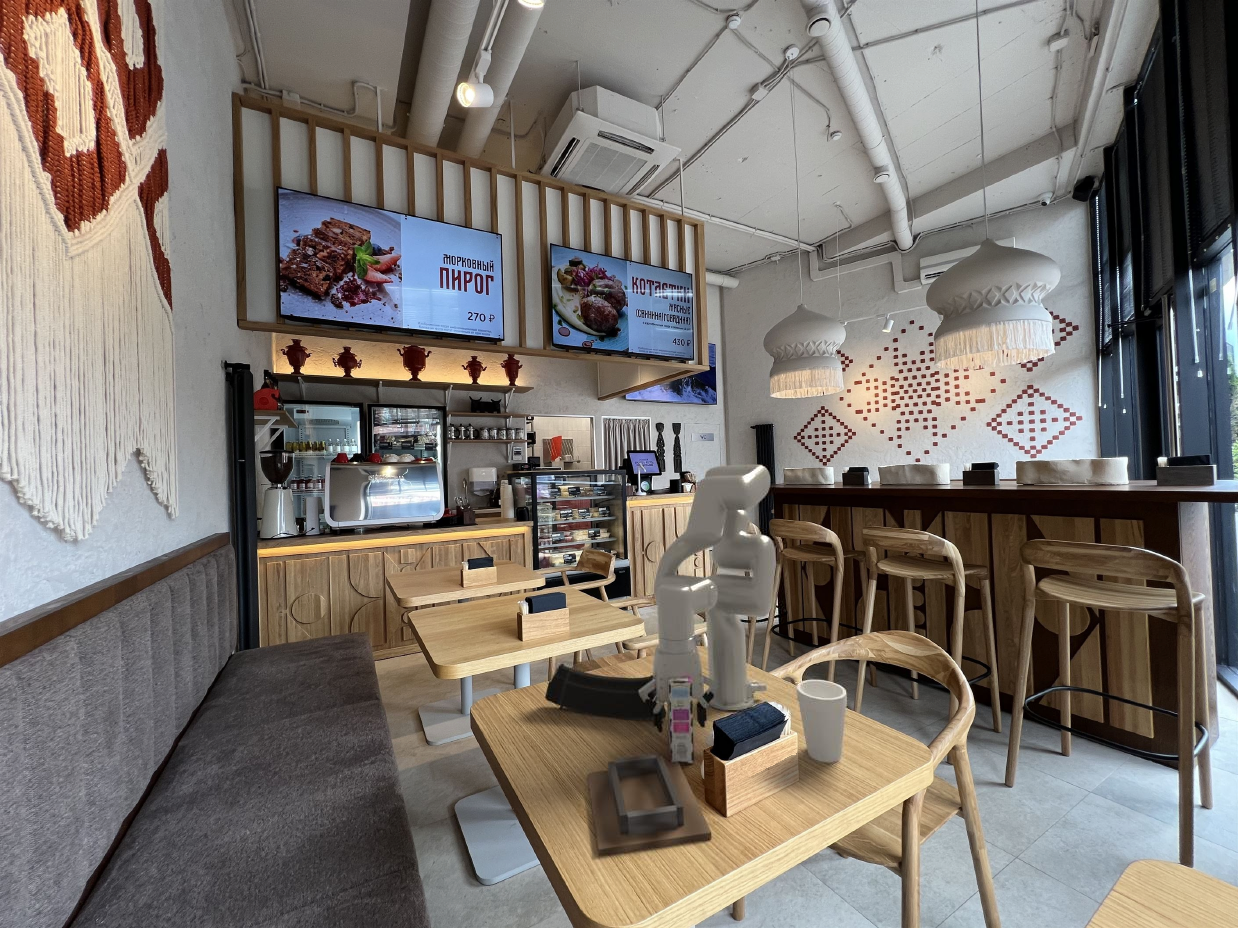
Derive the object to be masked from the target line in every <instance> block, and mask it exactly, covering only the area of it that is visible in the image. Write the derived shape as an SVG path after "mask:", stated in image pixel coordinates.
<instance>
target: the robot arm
mask: <svg viewBox="0 0 1238 928" xmlns="http://www.w3.org/2000/svg"><path fill="white" fill-rule="evenodd" d="M770 488H771V475H770V472H769V470H768V469H767V467H766V466H763V464H734V465H720V466H714V467H712V468H709V469H708V470H706V472H705V475H704V477H703V478H702V479H700V480H699V482H698V483H697V485H696V487H695V492H694V495H693V499H692V500H693V501H692V503H691V504H692V505H691V509H690V512H689V517H688V520H687V521H688V522H687V526H686V528H685V531H684V532H683V533H682V534H681V535H680V536H678V537H677V538H676V539H675V540H674V541H673V542H671V544H670V545H669V547H667V549H666V550H665V551H664V552H663V554H662V556H661V558H660V560H659V563H658V567H657V569H656V574H655V578H654V584H653V596H654V597H653V598H654V599H655V602H656V604H657V605H656V606H657V607H656V608H657V626H658V627H657V630H658V647H657V648H656V649H655V650H654V656H653V657H654V658H653V666H652V668H653V669H652V675H653V680H652V681H650V682H649V683H648V684H646V685H645V686H644V687H642V688H641V689H640V690H639V691H638V693H639V695H640V697H641V698H642V700H643V701H644V702H645V704H646V705H647V706H648V707H649V708H650V709H651V710H652V711H653V719H652V722H653V727H654V728H656V729H657V732H658V734H660V733H663V720H662V713H661V711H660V709H661V707H662V706H663V704H664V705H665V703H667V702H669V694H668V679H669V678H680V677H691V680H692V700H697V702H696V720H697V722H698V724H699V726H700V728H706V724H705V722H707V715H708V714H707V709H708V707H709V706H710V707H711V708H714V709H717V710H720V711H727V710H734V709H735V710H736V709H737V711H743V710H746V709H748V707H749V708H750V707H752V706H753V705H754V703H755V695H754V694H755V692H766V691H767V684H766V683H765V682H759V683H758V682H757V680H755V679H754V680H748V672H747V671H748V670H747V669H748V668H747V647H746V630H745V628H744V625H743V623H742V620H741V618H740V617H739V616H745V617H754V618H764V617H766V616H768V615H769V614H770V612H771V609H772V606H773V599H774V598H773V597H774V588H775V587H774V583H775V574H776V573H775V572H776V570H775V569H776V547H775V544H774V542H773V540H772V539H771V538H770V537H769V536H767V535H765V534H759V533H757V534H756V533H748V532H749V531H748V530H749V514H748V513H747V511H750V510H752V509H753V508H755V507H756V506H757V505H758V504H759V503H760V502H761V501H762V500H763V499H764V498H765V497H766V496H767V494H768V493H769V490H770ZM710 548H712V552H711V556H712V563H713V564H714V566H716V567H717V568H719V569H722V570H728V571H736V572H737V571H739V572H752V576H748V575H739V574H738V575H737V574H728V573H715V574H711V575H710V574H709V575H708V576H706V577H704V576H696V575H695V576H693V575H687V574H686V575H685V574H677V571H678V569H679V568H680V567H681V564H683V562H684V561H686V560H688V558H690V557H691V556H694V555H695V554H698V553H701V552H702V551H705V550H708V549H710ZM703 613H704V615H705V621H706V639H707V641H706V642H707V644H706V645H707V666H708V667H707V668H708V677H707V676H705V675H704V674H703V668H702V661H701V657H700V652H699V649H698V648H697V644H699V643H702V636H701V635H696V634H695V615H698V614H703ZM705 685H706V686H708V688H706V689H705ZM652 690H653V691H654V693H656V696H655V698H654V699H653V701H652V700H651V699H650V698H649V697H648V696H647V695H648V693H649V692H651V691H652Z"/></svg>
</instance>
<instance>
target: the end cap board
mask: <svg viewBox="0 0 1238 928" xmlns="http://www.w3.org/2000/svg"><path fill="white" fill-rule="evenodd" d="M587 784H588V790H589V796H590V805H591V809H592V817H593V824H594V831H595V837H596V838H595V839H596V844H597V852H598V857H601V856H607V855H613V854H615V855H616V854H622V853H626V852H627V853H628V852H635V851H641V850H646V849H653V848H660V847H665V846H672V845H673V846H674V845H679V844H687V843H692V842H698V841H700V842H701V841H706V840H711V839H713V838H712V831H711V829H710V827H709V824H708V822H707V820H706V818H705V816H704V813H703V811H702V810H701V807H700V805H699V803H698V801H697V799H696V797H695V795H694V793H693V790H692V788H691V786H690V784H689V782H688V780H687V778H686V776H685V773H684V771H683V770H682V767H681V764H679V762H678V761H677V762H671V761H669V762H665V760H664V758H663V755H662V754H661V755H660V754H659V755H656V754H655V753H652V754H644V755H637V756H630V757H629V756H627V757H622V758H621V757H619V758H614V759H613V760H612V761H607V770H599V771H593V772H592V771H591V772H587Z"/></svg>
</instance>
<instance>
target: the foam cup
mask: <svg viewBox="0 0 1238 928" xmlns="http://www.w3.org/2000/svg"><path fill="white" fill-rule="evenodd" d="M846 690H847V689H846V688H844V687H843V686H842V685H840V684H838V683H835V682H832V681H829V680H824V679H807V680H802V681H800V682H799V683H798V684H796V696H797V702H798V705H799V711H800V716H801V722H802V726H803V727H802V728H803V733H804V738H805V746H806V749H807V754H808V756H810V757H811V758H812V759H814V760H816V761H818V762H822V763H835V762H839V761H840V760H841V758H842V752H843V750H842V749H843V742H844V741H843V740H844V731H845V730H844V729H845V722H846V721H845V719H846V710H847V709H846V708H847V707H848V700H847V699H848V698H847V691H846Z"/></svg>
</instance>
